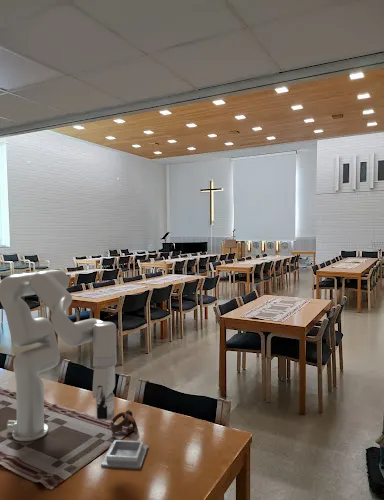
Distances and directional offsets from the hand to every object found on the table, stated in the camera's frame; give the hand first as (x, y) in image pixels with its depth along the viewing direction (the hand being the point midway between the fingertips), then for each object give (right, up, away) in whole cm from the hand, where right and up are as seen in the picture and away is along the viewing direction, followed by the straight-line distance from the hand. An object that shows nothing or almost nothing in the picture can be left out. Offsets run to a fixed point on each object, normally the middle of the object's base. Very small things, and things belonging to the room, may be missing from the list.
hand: (105, 413), depth 133 cm
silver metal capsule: (0, -1, 0) cm, 1 cm away
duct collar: (+6, -16, +3) cm, 17 cm away
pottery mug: (+3, -15, +21) cm, 26 cm away
